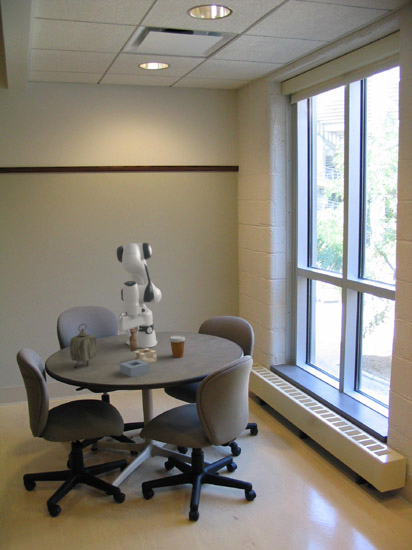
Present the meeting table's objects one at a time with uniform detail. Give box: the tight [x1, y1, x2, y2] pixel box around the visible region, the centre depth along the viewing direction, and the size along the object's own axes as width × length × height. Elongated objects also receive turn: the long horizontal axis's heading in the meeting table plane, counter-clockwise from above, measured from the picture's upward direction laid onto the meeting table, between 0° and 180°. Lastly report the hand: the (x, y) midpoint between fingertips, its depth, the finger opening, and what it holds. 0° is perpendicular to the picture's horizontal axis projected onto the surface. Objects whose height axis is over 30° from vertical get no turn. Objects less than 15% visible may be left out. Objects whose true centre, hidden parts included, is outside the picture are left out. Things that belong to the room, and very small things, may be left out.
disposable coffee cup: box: [169, 334, 186, 359], centre depth 343 cm, size 10×10×12 cm
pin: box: [128, 328, 138, 353], centre depth 313 cm, size 4×4×12 cm
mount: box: [132, 347, 158, 364], centre depth 336 cm, size 10×10×6 cm
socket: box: [119, 359, 151, 378], centre depth 315 cm, size 12×12×5 cm
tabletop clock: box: [69, 323, 98, 368], centre depth 329 cm, size 14×9×25 cm, turn 152°
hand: (132, 335), depth 312 cm, fingers closed on pin, 4 cm apart
